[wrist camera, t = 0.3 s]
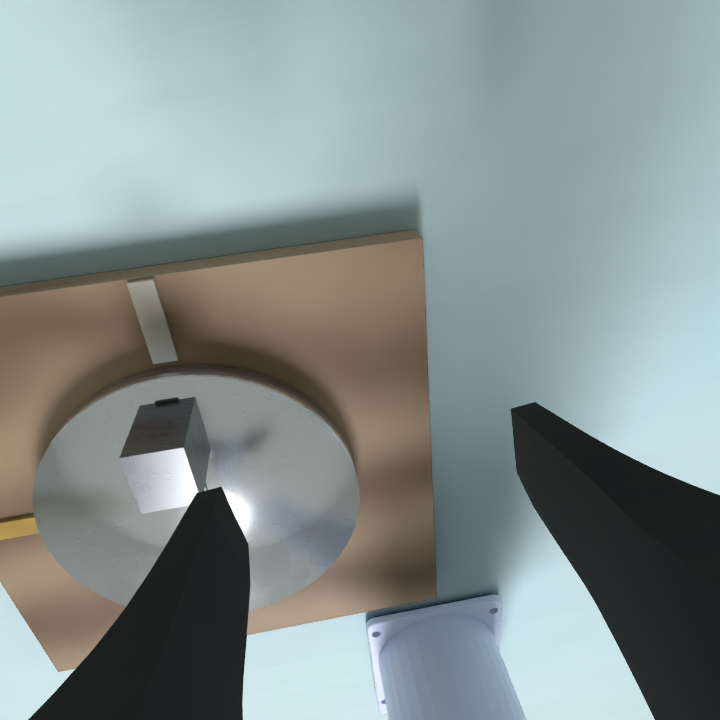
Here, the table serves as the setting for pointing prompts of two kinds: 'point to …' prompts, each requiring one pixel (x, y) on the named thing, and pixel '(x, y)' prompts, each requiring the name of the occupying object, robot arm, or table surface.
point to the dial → (196, 478)
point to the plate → (246, 351)
